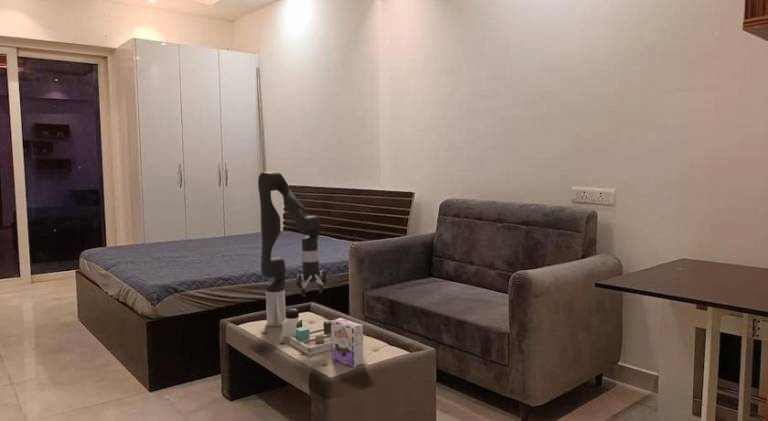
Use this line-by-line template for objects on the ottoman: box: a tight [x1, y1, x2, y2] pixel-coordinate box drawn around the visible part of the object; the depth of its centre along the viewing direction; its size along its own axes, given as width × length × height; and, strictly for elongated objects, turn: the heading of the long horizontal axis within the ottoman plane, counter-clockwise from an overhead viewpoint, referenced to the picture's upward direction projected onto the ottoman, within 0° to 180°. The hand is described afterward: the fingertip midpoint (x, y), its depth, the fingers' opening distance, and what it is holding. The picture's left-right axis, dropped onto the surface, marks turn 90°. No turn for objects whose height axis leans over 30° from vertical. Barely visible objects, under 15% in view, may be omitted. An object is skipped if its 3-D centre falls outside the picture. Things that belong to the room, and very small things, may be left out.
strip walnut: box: [304, 337, 331, 347], centre depth 241 cm, size 6×18×6 cm, turn 126°
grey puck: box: [315, 334, 324, 344], centre depth 239 cm, size 4×4×3 cm
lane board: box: [288, 327, 332, 356], centre depth 244 cm, size 19×20×3 cm
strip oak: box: [295, 320, 332, 341], centre depth 248 cm, size 6×18×6 cm, turn 126°
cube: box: [296, 326, 311, 341], centre depth 244 cm, size 4×4×4 cm
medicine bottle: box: [282, 308, 303, 338], centre depth 255 cm, size 7×7×12 cm
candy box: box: [330, 317, 364, 369], centre depth 222 cm, size 14×6×16 cm, turn 45°
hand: (312, 294), depth 253 cm, fingers open, 8 cm apart
